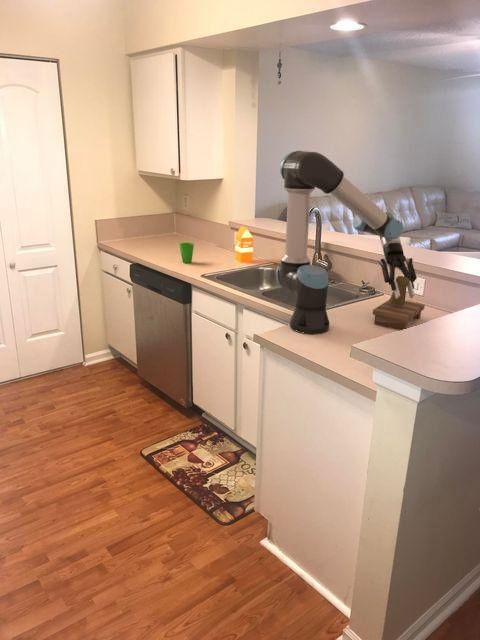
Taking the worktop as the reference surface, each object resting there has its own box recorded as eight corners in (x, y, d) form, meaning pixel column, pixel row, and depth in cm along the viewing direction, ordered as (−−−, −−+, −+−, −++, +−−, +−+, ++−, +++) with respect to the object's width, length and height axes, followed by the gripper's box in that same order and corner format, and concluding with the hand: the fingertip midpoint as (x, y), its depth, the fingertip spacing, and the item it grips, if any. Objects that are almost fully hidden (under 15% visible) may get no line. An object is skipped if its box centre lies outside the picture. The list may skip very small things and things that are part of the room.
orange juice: (246, 258, 312) (247, 225, 306) (252, 261, 305) (253, 227, 298) (235, 259, 310) (235, 226, 303) (240, 262, 302) (241, 228, 295)
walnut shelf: (406, 331, 197) (408, 316, 195) (371, 323, 204) (373, 309, 202) (422, 318, 212) (424, 304, 210) (390, 311, 220) (391, 298, 218)
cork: (401, 301, 209) (408, 275, 205) (406, 306, 203) (413, 279, 199) (387, 299, 208) (393, 273, 205) (391, 304, 203) (398, 277, 199)
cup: (192, 264, 295) (191, 245, 292) (177, 263, 297) (176, 244, 293) (196, 261, 304) (196, 242, 300) (181, 260, 305) (181, 242, 302)
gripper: (409, 251, 215) (423, 300, 206) (367, 252, 213) (379, 302, 203) (416, 241, 209) (431, 291, 199) (374, 242, 206) (386, 293, 196)
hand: (405, 296), depth 201 cm, fingers closed on cork, 5 cm apart
